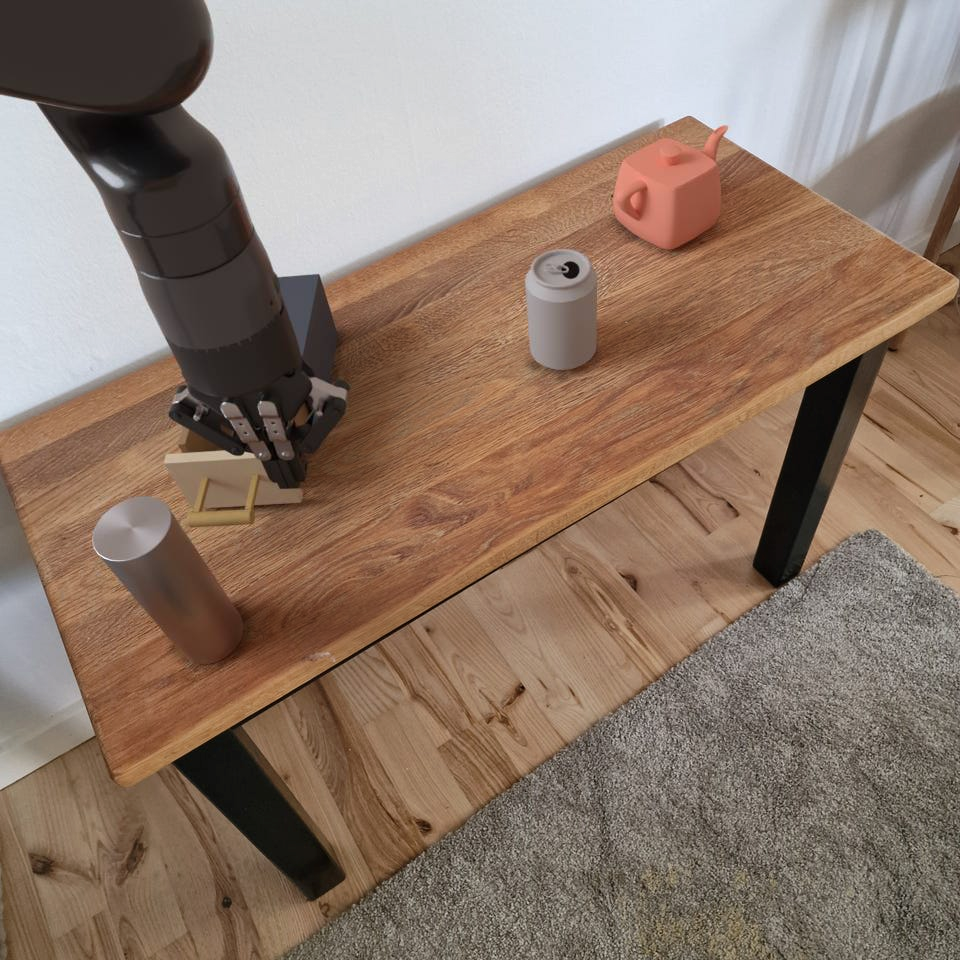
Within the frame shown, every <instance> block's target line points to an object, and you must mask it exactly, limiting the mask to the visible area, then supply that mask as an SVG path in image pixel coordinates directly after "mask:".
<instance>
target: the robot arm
mask: <svg viewBox="0 0 960 960" xmlns="http://www.w3.org/2000/svg"><path fill="white" fill-rule="evenodd" d="M211 17H212V16H211V13H210V11H209V8H208V5H207V3H206V1H205V0H0V96H3V97H8V98H13V99H18V100H22V101H23V100H24V101H29V102H34V103H35V104H36V106H37V107H38V108H39V110H40V111H41V113H42V114H43V116H44V117H45V119H46V120H47V121H48V123H49V124H50V126H51V127H52V129H53V130H54V131H55V133H56V135H57V136H58V137H59V139H60V140H61V142H62V143H63V144H64V146H65V147H66V148H67V150H68V151H69V152H70V154H71V155H72V156H73V158H74V159H75V161H76V162H77V163H78V164H79V166H80V167H81V168H82V170H83V171H84V172H85V174H87V176H88V178H89V179H90V181H91V182H92V183H93V185H94V186H95V188H96V190H97V192H98V194H99V196H100V198H101V200H102V203H103V206H104V207H105V210H106V212H107V214H108V216H109V219H110V221H111V222H112V225H113V226H114V229H115V230H116V232H117V234H118V237H119V239H120V240H121V242H122V244H123V246H124V248H125V250H126V253H127V255H128V258H129V259H130V260H131V263H132V265H133V268H134V270H135V274H136V276H137V279H138V283H139V286H140V289H141V292H142V294H143V296H144V299H145V301H146V304H147V306H148V307H149V309H150V311H151V313H152V315H153V317H154V319H155V322H156V323H157V325H158V327H159V329H160V331H161V333H162V335H163V337H164V339H165V341H166V343H167V345H168V347H169V349H170V352H171V353H172V355H173V357H174V359H175V361H176V363H177V365H178V367H179V369H180V372H182V373H183V375H184V377H185V378H186V380H187V381H188V382H187V383H186V384H182V385H179V386H178V387H177V389H176V392H175V395H174V397H173V400H172V403H171V405H170V409H169V411H168V413H167V415H168V418H169V419H170V420H171V421H173V422H175V423H177V424H178V425H180V426H181V427H183V426H184V427H185V428H187V429H189V430H190V431H192V432H194V433H196V434H197V435H199V436H201V437H203V438H204V439H206V440H208V441H210V442H211V443H213V444H215V445H216V446H218V447H220V448H222V449H223V450H225V451H227V452H229V453H230V454H232V455H235V456H241V455H243V454H244V452H248V453H252V454H254V455H255V457H256V458H257V459H259V460H261V462H262V465H263V467H264V469H265V471H266V473H267V476H268V478H269V479H270V480H271V481H272V482H273V483H277V484H278V486H279V488H280V489H299V488H301V485H302V483H305V482H306V477H307V472H308V468H309V461H308V458H307V456H306V455H313V454H315V453H316V452H317V450H318V449H319V448H320V446H321V445H322V444H323V443H324V441H325V440H326V438H328V436H329V435H330V434H331V433H332V431H333V430H334V429H335V428H336V426H337V425H338V424H339V422H340V421H341V419H342V418H343V417H344V416H345V414H346V409H347V405H348V399H349V393H350V387H351V386H350V383H349V382H348V381H346V380H343V379H336V380H334V381H333V382H332V383H330V384H329V383H327V382H325V381H323V380H320V379H318V378H316V377H315V372H314V370H313V368H312V366H311V365H310V364H309V363H308V362H306V361H305V360H304V358H303V357H302V356H301V353H300V349H299V345H298V341H297V338H296V335H295V332H294V329H293V326H292V323H291V321H290V318H289V315H288V312H287V309H286V306H285V303H284V300H283V297H282V294H281V291H280V284H279V280H278V277H279V276H278V274H277V273H276V271H274V267H273V265H272V262H271V259H270V257H269V254H268V252H267V250H266V248H265V246H264V244H263V242H262V240H261V238H260V236H259V235H258V233H257V231H256V228H255V226H254V223H253V220H252V217H251V215H250V212H249V209H248V205H247V203H246V200H245V197H244V194H243V191H242V189H241V186H240V183H239V179H238V177H237V174H236V172H235V168H234V167H233V164H232V162H231V159H230V158H229V155H228V153H227V150H226V149H225V147H224V145H223V144H222V142H221V141H220V139H218V137H217V136H216V135H215V134H214V133H213V132H211V130H210V129H208V128H207V127H206V126H204V125H203V124H202V123H201V122H199V120H197V119H196V118H195V117H193V115H191V114H190V113H189V112H188V110H186V109H185V107H184V106H183V105H182V104H183V103H184V102H186V101H187V100H188V99H189V98H191V97H192V96H193V95H194V94H195V93H196V92H197V91H198V90H199V88H200V87H201V85H202V84H203V82H204V80H205V79H206V76H208V73H209V70H210V68H211V64H212V61H213V58H214V50H215V34H214V26H213V21H212V18H211ZM183 375H182V376H183ZM184 377H183V378H184ZM308 396H311V397H312V399H313V403H312V407H313V410H312V412H311V413H310V415H309V416H308V417H307V419H306V420H305V422H304V424H303V425H300V426H298V423H297V419H296V415H297V413H298V412H299V410H300V409H301V407H302V405H303V404H304V402H305V401H306V399H307V398H308ZM220 425H223V426H225V427H226V428H228V429H230V430H231V431H232V435H229V434H227V433H226V432H224V431H222V430H221V428H220Z"/></svg>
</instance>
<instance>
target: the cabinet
mask: <svg viewBox="0 0 960 960" xmlns="http://www.w3.org/2000/svg"><path fill="white" fill-rule="evenodd" d="M277 277H278V280H279V284H280V291H281V294H282V297H283V300H284V303H285V306H286V309H287V312H288V315H289V318H290V321H291V323H292V326H293V329H294V332H295V335H296V338H297V341H298V345H299V349H300V353H301V356H302V357H303V358H304V360H305V361H306V362H308V363H309V364H310V365H311V366H312V368H313V370H314V372H315V377H316V378H318V379H320V380H323V381H325V382H327V383H329V384H331V381H332V375H333V369H334V364H335V363H334V362H335V357H336V351H337V345H338V339H339V333H338V330H337V327H336V324H335V320H334V317H333V314H332V309H331V308H330V307H331V306H330V304H329V301H328V298H327V295H326V291H325V288H324V285H323V282H322V279H321V274H320V273H313V274H300V275H288V276H277ZM180 373H181V375H182V377H183V379H184V381H185V383H186V384H187V382H188V381H187V380H186V378H185V377H184V375H183V373H182V371H180ZM307 401H308V404H309V406H310V413H311V412H312V410H313V407H312V403H313V399H312V397H311V396H308V398H307ZM309 415H310V414H309Z"/></svg>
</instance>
